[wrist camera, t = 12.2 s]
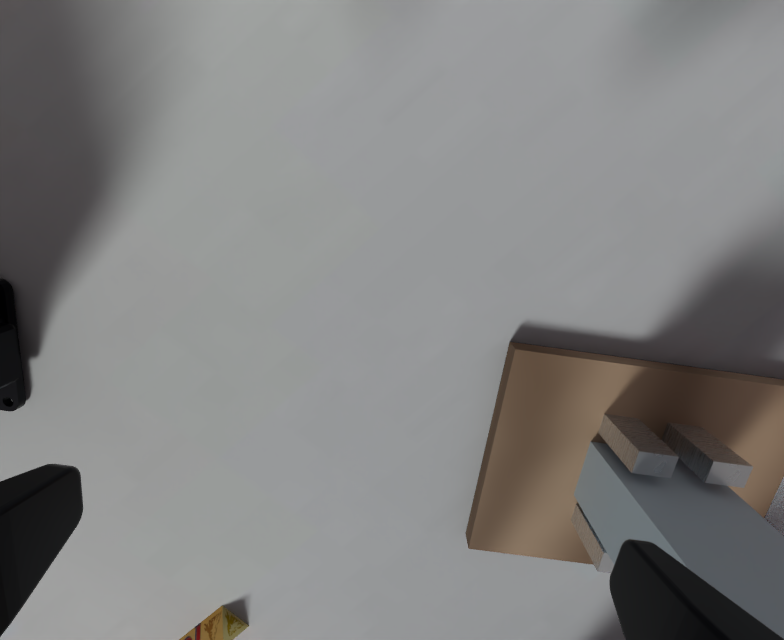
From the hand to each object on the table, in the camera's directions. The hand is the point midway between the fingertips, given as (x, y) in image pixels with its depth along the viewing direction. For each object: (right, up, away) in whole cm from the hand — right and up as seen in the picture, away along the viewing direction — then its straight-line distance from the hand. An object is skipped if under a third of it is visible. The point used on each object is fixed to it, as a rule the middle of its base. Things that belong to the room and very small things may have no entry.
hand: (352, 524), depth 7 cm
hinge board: (+12, -4, +14) cm, 19 cm away
